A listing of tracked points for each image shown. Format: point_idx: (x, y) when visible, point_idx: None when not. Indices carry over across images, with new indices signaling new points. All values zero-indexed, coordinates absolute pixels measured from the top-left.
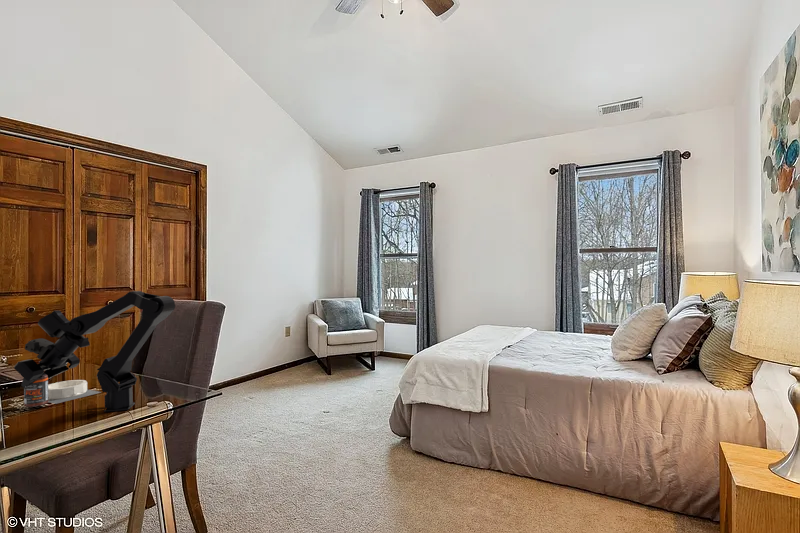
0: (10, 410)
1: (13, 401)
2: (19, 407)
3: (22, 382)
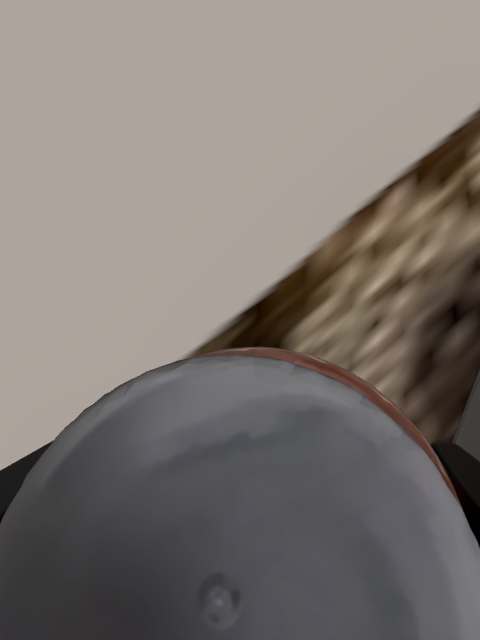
0: (251, 316)
1: (458, 164)
2: (320, 321)
3: (41, 455)
